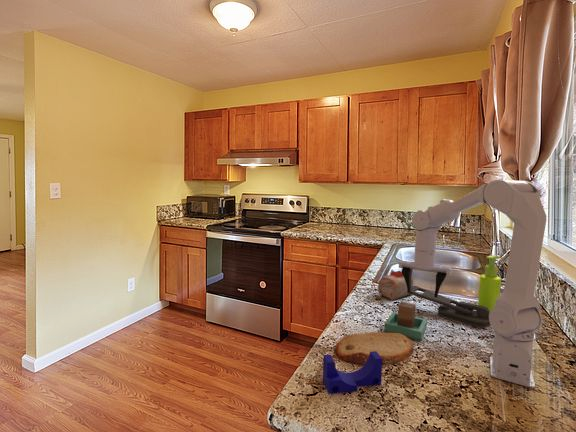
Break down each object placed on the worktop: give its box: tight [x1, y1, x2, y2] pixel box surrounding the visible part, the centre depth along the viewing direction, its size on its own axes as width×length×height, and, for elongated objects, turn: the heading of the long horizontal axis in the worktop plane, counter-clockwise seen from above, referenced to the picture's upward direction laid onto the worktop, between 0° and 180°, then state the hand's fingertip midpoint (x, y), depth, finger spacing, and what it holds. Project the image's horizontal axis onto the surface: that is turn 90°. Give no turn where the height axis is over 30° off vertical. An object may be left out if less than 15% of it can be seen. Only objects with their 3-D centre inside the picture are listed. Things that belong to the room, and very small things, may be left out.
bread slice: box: [335, 331, 415, 366], centre depth 82 cm, size 18×18×4 cm
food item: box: [377, 269, 414, 301], centre depth 124 cm, size 14×8×10 cm, turn 125°
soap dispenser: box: [477, 254, 504, 311], centre depth 106 cm, size 6×7×20 cm
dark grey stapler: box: [407, 285, 491, 329], centre depth 107 cm, size 9×7×25 cm
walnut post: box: [397, 301, 417, 329], centre depth 94 cm, size 4×4×7 cm
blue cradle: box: [322, 351, 383, 395], centre depth 68 cm, size 12×4×6 cm, turn 100°
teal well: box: [383, 312, 428, 342], centre depth 95 cm, size 10×10×2 cm
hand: (422, 294), depth 98 cm, fingers open, 7 cm apart
